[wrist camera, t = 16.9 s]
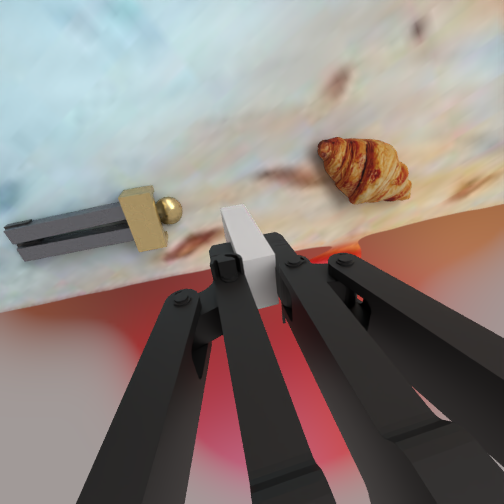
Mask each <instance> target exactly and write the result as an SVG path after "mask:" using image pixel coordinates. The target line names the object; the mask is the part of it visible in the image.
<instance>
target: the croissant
mask: <svg viewBox="0 0 504 504" xmlns="http://www.w3.org/2000/svg"><path fill="white" fill-rule="evenodd" d="M317 151H318V155H319V156H320V157H321V158H322V159H323V160H324V167H325V170H326V172H327V173H328V174H329V175H330V176H331V178H332V180H334V181H335V185H336V186H337V187H338V188H339V189H340V190H341V191H342V192H343V193H344V194H345V195H346V196H347V197H348V198H349V201H350V202H351V203H352V204H361V203H364V202H370V203H372V202H378V201H381V200H384V201H395V200H400V201H403V200H406V199H409V198H410V191H411V187H412V185H411V181H409V180H408V174H409V172H408V168H407V166H406V165H405V164H403V163H402V162H399V160H398V156H397V152H396V150H395V149H394V148H393V146H391V145H390V144H387V143H384V142H382V141H380V140H373V139H355V138H354V139H352V138H351V139H342V138H340V137H335V138H332V139H329V140H322V141H321V142H320V143H319V144H318V150H317Z"/></svg>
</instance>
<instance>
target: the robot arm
mask: <svg viewBox="0 0 504 504" xmlns="http://www.w3.org/2000/svg"><path fill="white" fill-rule="evenodd" d="M220 210H221V215H222V221H223V226H224V232H225V237H226V243H223V244H218V245H213V246H212V247H211V248H210V250H209V254H210V260H211V261H210V267H211V272H212V275H213V283H212V284H211V285H210V286H209V287H208V288H207V289H206V290H204V291H202V292H200V293H197V291H195V290H192V289H183V290H179V291H177V292H174V293H173V294H171V295H170V296H169V297H168V298H167V299H166V301H165V303H164V305H163V307H162V309H161V312H160V314H159V316H158V319H157V321H156V323H155V326H154V328H153V330H152V332H151V334H150V337H149V339H148V341H147V344H146V346H145V348H144V350H143V353H142V355H141V357H140V359H139V362H138V364H137V367H136V368H135V371H134V373H133V375H132V378H131V380H130V382H129V384H128V387H127V389H126V391H125V393H124V396H123V398H122V400H121V403H120V405H119V407H118V409H117V412H116V414H115V416H114V418H113V421H112V423H111V425H110V428H109V430H108V432H107V434H106V437H105V439H104V441H103V444H102V446H101V448H100V450H99V453H98V455H97V457H96V460H95V462H94V464H93V466H92V469H91V471H90V473H89V475H88V478H87V480H86V482H85V484H84V487H83V489H82V491H81V494H80V496H79V498H78V500H77V503H76V504H184V503H185V497H186V491H187V486H188V480H189V474H190V468H191V462H192V456H193V450H194V445H195V439H196V433H197V428H198V422H199V416H200V410H201V405H202V399H203V393H204V387H205V381H206V375H207V369H208V364H209V358H210V352H211V346H212V340H214V339H216V338H218V337H219V336H221V335H223V336H224V342H225V347H226V353H227V358H228V364H229V369H230V375H231V381H232V386H233V392H234V398H235V403H236V409H237V414H238V420H239V425H240V431H241V437H242V442H243V448H244V453H245V459H246V465H247V470H248V476H249V482H250V489H251V498H252V504H336V502H335V499H334V497H333V494H332V492H331V489H330V487H329V485H328V482H327V480H326V477H325V476H324V474H323V472H322V470H321V468H320V467H319V466H318V465H317V464H316V462H315V460H314V458H313V456H312V453H311V451H310V448H309V446H308V443H307V440H306V437H305V435H304V432H303V430H302V427H301V424H300V421H299V419H298V416H297V413H296V411H295V408H294V405H293V402H292V400H291V397H290V395H289V392H288V389H287V386H286V384H285V381H284V378H283V376H282V373H281V370H280V368H279V365H278V363H277V359H276V357H275V355H274V351H273V349H272V346H271V344H270V341H269V338H268V335H267V333H266V330H265V327H264V325H263V322H262V320H261V317H260V314H259V311H258V309H260V308H264V307H268V306H272V305H276V304H278V303H279V300H278V296H279V298H280V300H281V303H282V319H283V323H286V322H285V318H286V320H287V322H288V324H289V326H290V328H291V330H292V332H293V334H294V336H295V338H296V341H297V343H298V345H299V347H300V349H301V351H302V353H303V355H304V357H305V359H306V361H307V363H308V365H309V367H310V370H311V372H312V374H313V376H314V378H315V380H316V382H317V384H318V386H319V388H320V390H321V393H322V394H323V397H324V398H325V401H326V403H327V405H328V407H329V409H330V411H331V413H332V415H333V418H334V420H335V422H336V424H337V426H338V428H339V430H340V432H341V434H342V436H343V438H344V440H345V442H346V445H347V447H348V449H349V451H350V453H351V455H352V457H353V459H354V461H355V463H356V465H357V467H358V469H359V471H360V474H361V476H362V478H363V480H364V482H365V484H366V487H367V490H368V493H369V497H370V502H371V504H504V471H503V470H502V469H501V468H500V467H499V466H498V465H497V463H496V462H495V461H494V460H493V459H492V458H491V457H490V455H491V456H492V457H493V458H494V459H495V460H496V461H497V462H499V463H500V464H501V465H502V466H503V467H504V338H502V337H501V336H499V335H497V334H495V333H494V332H492V331H490V330H488V329H486V328H485V327H483V326H481V325H479V324H477V323H476V322H474V321H472V320H470V319H468V318H466V317H464V316H463V315H461V314H459V313H458V312H456V311H454V310H452V309H450V308H448V307H446V306H445V305H443V304H441V303H440V302H438V301H436V300H434V299H432V298H431V297H429V296H427V295H425V294H423V293H422V292H420V291H418V290H416V289H415V288H413V287H411V286H409V285H407V284H405V283H404V282H402V281H400V280H398V279H397V278H395V277H393V276H391V275H389V274H388V273H385V272H384V271H382V270H380V269H378V268H377V267H375V266H373V265H371V264H369V263H368V262H366V261H364V260H362V259H361V258H359V257H357V256H355V255H352V254H348V253H338V254H334V255H332V256H330V257H329V259H328V264H312V263H311V262H310V261H309V260H308V259H307V258H306V257H303V256H301V255H297V254H296V253H295V252H294V250H293V249H292V248H291V246H290V245H289V244H288V243H287V241H286V240H285V239H284V237H283V236H282V235H280V234H278V233H276V232H273V233H268V234H262V232H261V231H260V229H259V228H258V226H257V224H256V223H255V221H254V220H253V218H252V216H251V215H250V213H249V212H248V210H247V208H246V207H245V205H244V204H240V205H234V206H229V207H224V208H220ZM357 294H358V295H359V296H361V297H362V298H363V302H362V301H360V300H359V299H357ZM412 387H414V388H415V389H416V390H417V391H418V392H419V393H420V394H421V395H423V396H424V397H425V398H426V399H427V400H428V401H429V402H430V403H432V404H433V405H434V406H435V407H436V408H437V409H438V410H440V411H441V412H442V413H443V414H444V415H445V416H446V417H448V418H449V419H450V420H451V421H452V422H451V421H446V420H442V419H440V418H439V417H437V416H436V415H435V414H434V413H433V412H432V411H431V410H430V408H429V407H428V406H427V405H426V404H425V402H424V401H423V400H422V399H421V397H420V396H419V395H418V394H417V393H416V392H415V390H414V389H413V388H412Z"/></svg>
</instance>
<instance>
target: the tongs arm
mask: <svg viewBox="0 0 504 504" xmlns="http://www.w3.org/2000/svg"><path fill="white" fill-rule="evenodd" d="M121 220H126V217H125V215H124V212H123V210H122V207H121V205H120V202H117V203H112V204H108V205H103V206H99V207H94V208H89V209H85V210H80V211H75V212H71V213H66V214H61V215H57V216H52V217H47V218H43V219H38V220H33V221H32V219H31V220H26V221H22V222H17V223H12V224H8V225H6V226H5V227H4V228H5V231H4V233H5V234H6V235H7V237H8V238H9V240H10V241H11V242H12V244H18V243H22V242H27V241H31V240H36V239H40V238H45V237H49V236H54V235H58V234H63V233H67V232H72V231H76V230H81V229H85V228H90V227H94V226H99V225H103V224H108V223H112V222H117V221H121Z"/></svg>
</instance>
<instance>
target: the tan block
mask: <svg viewBox="0 0 504 504" xmlns="http://www.w3.org/2000/svg"><path fill="white" fill-rule="evenodd" d="M153 193H154V188H153V185H151V186H145V187H139V188H133V189H127V190H123V192H122V193H121V195H120V196H119V197H118V199H119V202H120V205H121V207H122V210H123V212H124V215H125V217H126V220H127V223H128V225H129V228H130V230H131V233H132V235H133V238H134V240H135V243H136V246H137V248H138V251H139V252H143V251H148V250H153V249H158V248H163V247H167V242H168V233H167V231H166V232H164V230H163V227H162V223H161V220H160V217H159V214H158V211H157V208H156V205H155V201H154V198H153Z"/></svg>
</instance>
